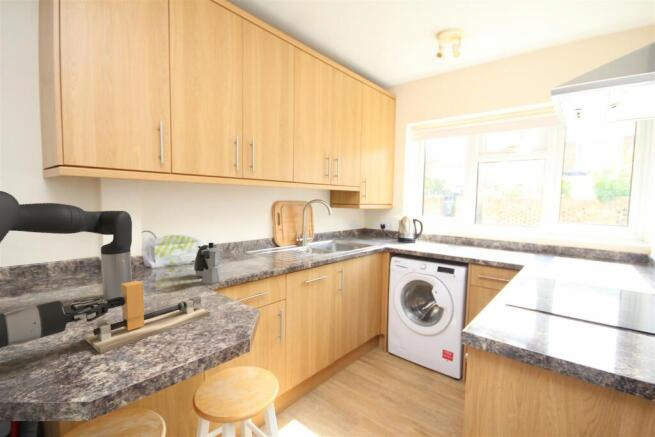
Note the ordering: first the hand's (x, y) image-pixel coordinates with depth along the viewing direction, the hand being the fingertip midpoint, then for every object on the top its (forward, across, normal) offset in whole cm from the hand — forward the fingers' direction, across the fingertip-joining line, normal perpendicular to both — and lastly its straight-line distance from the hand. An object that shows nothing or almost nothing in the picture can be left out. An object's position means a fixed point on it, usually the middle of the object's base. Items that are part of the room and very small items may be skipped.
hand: (123, 300), depth 80 cm
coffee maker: (+43, +28, +10) cm, 52 cm away
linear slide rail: (+7, 0, +10) cm, 12 cm away
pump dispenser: (+48, +41, +10) cm, 64 cm away
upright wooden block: (+2, 0, +8) cm, 8 cm away
